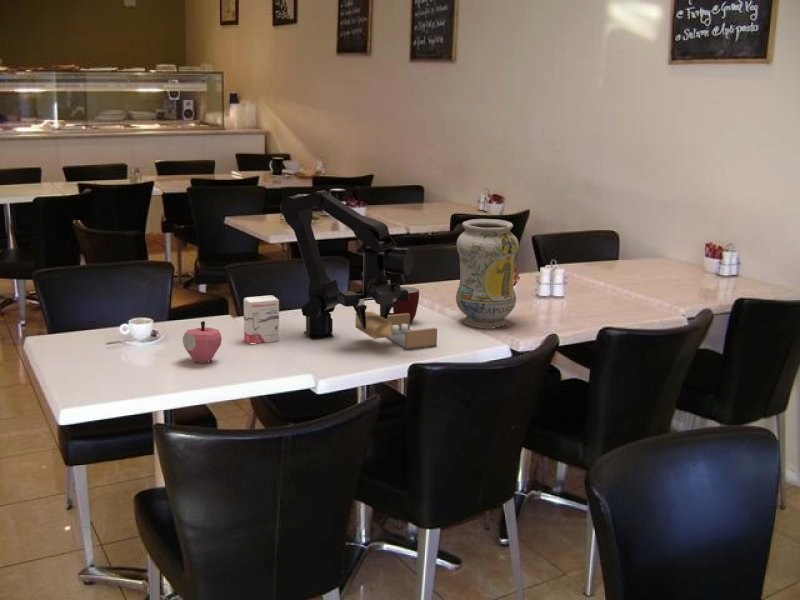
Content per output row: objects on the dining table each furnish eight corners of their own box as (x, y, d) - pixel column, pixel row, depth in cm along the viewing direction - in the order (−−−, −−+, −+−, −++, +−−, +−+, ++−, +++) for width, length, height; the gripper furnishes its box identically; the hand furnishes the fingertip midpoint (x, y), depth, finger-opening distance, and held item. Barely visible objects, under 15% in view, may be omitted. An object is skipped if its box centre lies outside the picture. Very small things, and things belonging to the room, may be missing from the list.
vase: (483, 335, 253) (488, 229, 246) (441, 321, 267) (444, 220, 259) (527, 325, 265) (533, 224, 257) (484, 312, 278) (489, 216, 271)
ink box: (249, 345, 239) (248, 301, 236) (243, 340, 243) (242, 297, 240) (280, 341, 243) (279, 298, 240) (273, 336, 247) (273, 294, 244)
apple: (177, 360, 225) (176, 321, 222) (207, 353, 230) (206, 316, 228) (198, 369, 218) (197, 330, 216) (228, 362, 224) (227, 323, 221)
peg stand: (406, 350, 237) (407, 332, 236) (378, 333, 252) (379, 316, 251) (436, 346, 241) (437, 328, 240) (407, 330, 256) (407, 313, 255)
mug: (390, 328, 258) (391, 294, 255) (378, 321, 265) (379, 288, 262) (423, 324, 262) (424, 291, 260) (410, 318, 269) (411, 285, 267)
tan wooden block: (374, 338, 234) (374, 324, 233) (355, 327, 244) (355, 312, 243) (391, 336, 236) (391, 322, 235) (372, 325, 247) (372, 311, 246)
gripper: (353, 279, 225) (353, 339, 229) (419, 274, 233) (418, 331, 237) (336, 270, 235) (336, 328, 239) (400, 265, 243) (399, 321, 247)
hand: (373, 327), depth 240 cm, fingers closed on tan wooden block, 5 cm apart
